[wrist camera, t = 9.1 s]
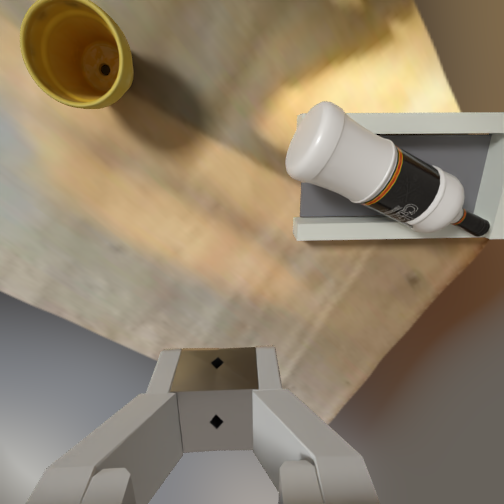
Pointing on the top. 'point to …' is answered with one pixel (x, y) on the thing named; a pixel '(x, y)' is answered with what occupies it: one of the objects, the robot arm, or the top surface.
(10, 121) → the top surface
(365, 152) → the vodka
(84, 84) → the plant pot
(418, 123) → the cradle
